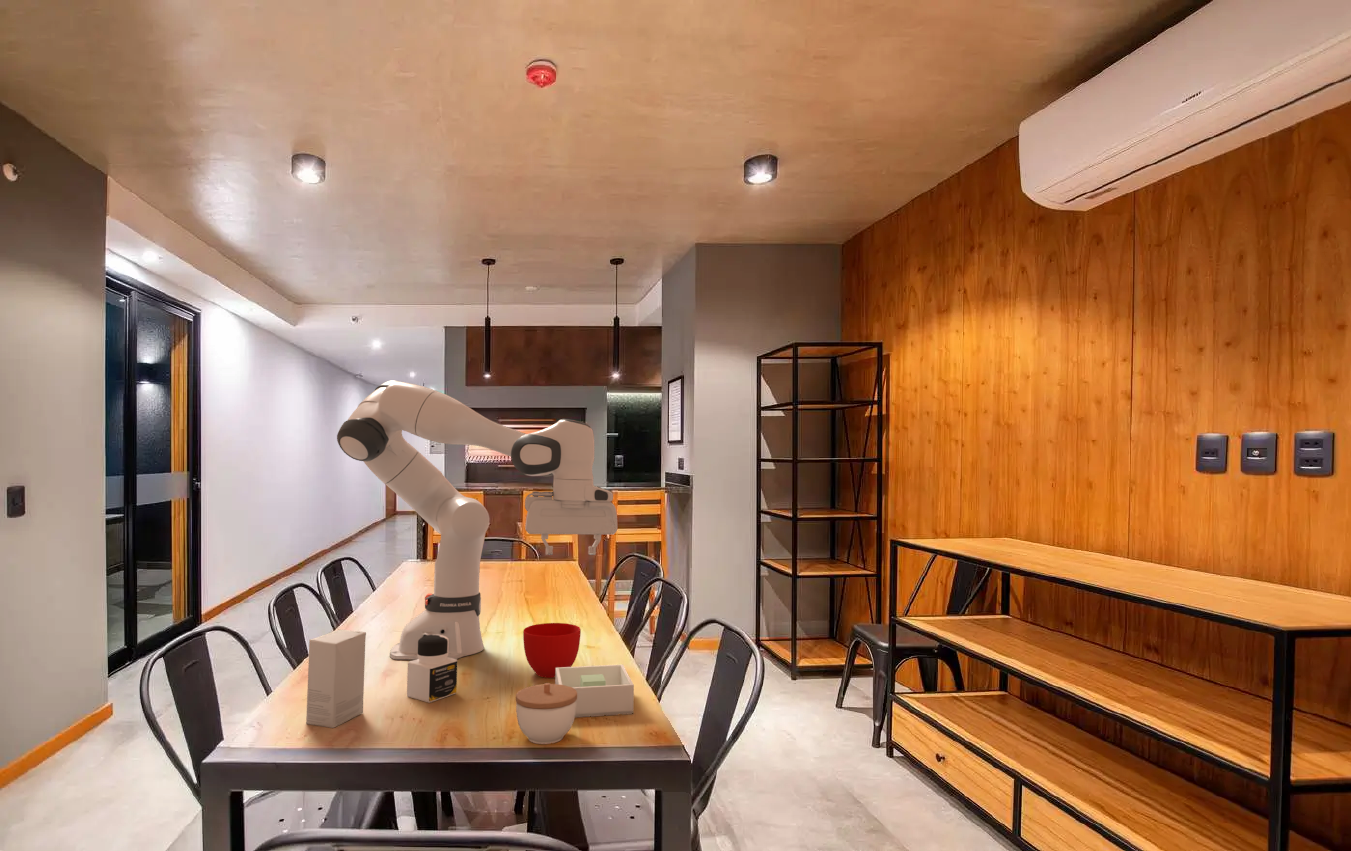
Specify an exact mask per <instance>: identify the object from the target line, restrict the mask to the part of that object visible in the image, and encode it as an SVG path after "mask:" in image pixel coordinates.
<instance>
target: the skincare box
mask: <svg viewBox="0 0 1351 851" xmlns="http://www.w3.org/2000/svg"><path fill="white" fill-rule="evenodd" d="M366 636H367V632H366V631H358V630H350V629H337V630H335V631H332V632H329V633H326V634H323V635H320V636H317V637H314V638H312V639H309V643H308V644H309V645H308V665H307V666H308V667H307V669H308V670H307V671H308V672H307V693H306V694H307V695H306V696H307V697H306V720H305V721H306V722H305V724H306V725H309V726H310V725H311V726H317V727H325V728H332V729H334V728H335V727H338V726H340V725H342V724H344V723H345V722H348V721H349V720H352V719H354V718H355V717H358V716H359V715H361V714H364V693H365V692H364V691H365V664H366V662H365V660H366V659H365V658H366Z"/></svg>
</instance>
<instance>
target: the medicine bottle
mask: <svg viewBox="0 0 1351 851" xmlns="http://www.w3.org/2000/svg"><path fill="white" fill-rule="evenodd" d="M448 645H449V639H448V638H447V637H446V636H443V635H427V636H424V637H422V638H420V639H419V640H418V658H419V659H412V660H410V661H408V662H407V675H406V677H407V678H406V697H408V698H412V699H414V700H418V701H422V702H425V703H428V704H431V703H433V702H436V701H439V700H441V699H445V698H447V697H451V696H453V695H456V694H457V688H458V687H457V686H458V684H457V683H458V659H453V658H449V657H447V656H448Z"/></svg>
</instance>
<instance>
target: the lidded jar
mask: <svg viewBox="0 0 1351 851" xmlns="http://www.w3.org/2000/svg"><path fill="white" fill-rule="evenodd" d="M576 700H577V691H576V690H575V689H574V688H572V687H569V686H565V685H559V684H555V683H550V682H546V683H544V684H536V685H530V686H527V687H523V688H522V689H520V690H519V691H517V692H516V694H515V702H516V703H515V704H516V705H515V706H516V707H515V708H516V711H515V712H516V719H517V723H518V726H519V729H520V730H521V732H522V733H523V735H524V736H526V737H527V738H528V742H531V743H532V744H537V745H550V744H551V743H552V744H556V743H559V742H560V741H562V740H563V739H564V736H565V735H566V734H567V733H568V732H569V731H570V729H571V728H572V726H573V724H574V722H575V718H576V717H575V714H576ZM552 744H551V745H552Z"/></svg>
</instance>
